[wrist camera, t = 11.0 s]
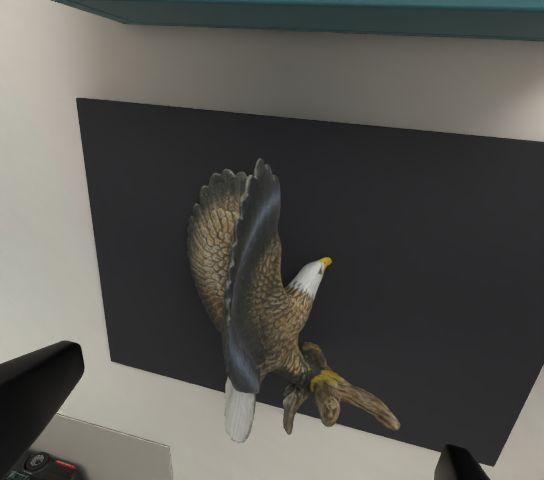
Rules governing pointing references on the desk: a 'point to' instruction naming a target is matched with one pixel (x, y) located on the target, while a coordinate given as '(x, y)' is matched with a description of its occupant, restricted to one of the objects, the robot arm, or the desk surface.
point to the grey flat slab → (90, 455)
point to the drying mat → (337, 259)
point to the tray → (337, 15)
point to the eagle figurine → (262, 303)
